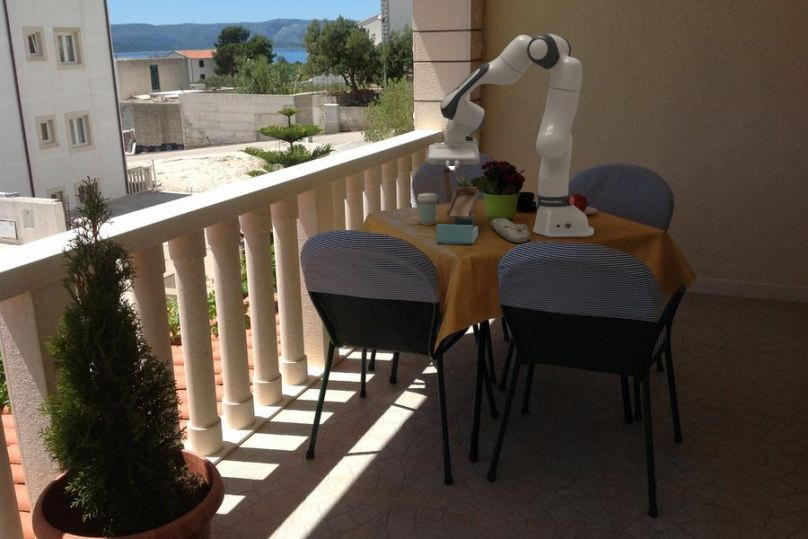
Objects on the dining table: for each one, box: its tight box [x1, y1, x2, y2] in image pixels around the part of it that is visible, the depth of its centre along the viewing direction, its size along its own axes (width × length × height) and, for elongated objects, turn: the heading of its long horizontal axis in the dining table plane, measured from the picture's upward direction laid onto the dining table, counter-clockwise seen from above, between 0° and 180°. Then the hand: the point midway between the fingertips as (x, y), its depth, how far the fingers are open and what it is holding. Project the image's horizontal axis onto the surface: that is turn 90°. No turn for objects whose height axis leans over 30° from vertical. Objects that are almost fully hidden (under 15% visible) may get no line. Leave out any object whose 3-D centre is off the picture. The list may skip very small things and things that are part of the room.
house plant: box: [452, 176, 474, 194], centre depth 316 cm, size 14×14×16 cm
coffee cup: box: [416, 192, 439, 225], centre depth 295 cm, size 8×8×12 cm
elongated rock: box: [489, 217, 531, 244], centre depth 276 cm, size 35×5×10 cm
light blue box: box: [435, 223, 479, 245], centre depth 267 cm, size 13×13×7 cm
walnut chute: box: [443, 166, 480, 219], centre depth 275 cm, size 12×20×18 cm, turn 166°
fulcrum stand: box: [454, 213, 475, 226], centre depth 280 cm, size 10×6×9 cm, turn 76°
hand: (451, 171), depth 281 cm, fingers closed
